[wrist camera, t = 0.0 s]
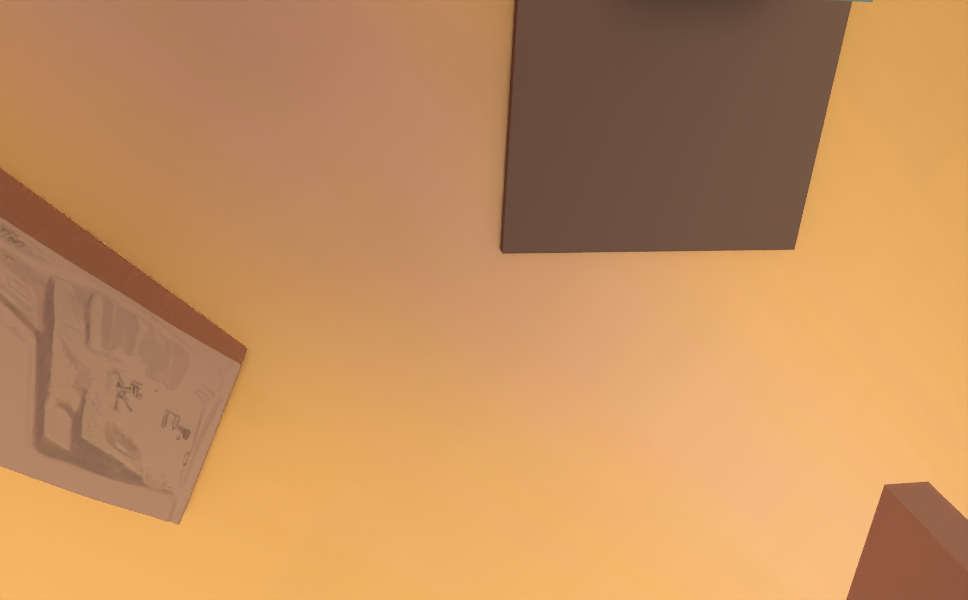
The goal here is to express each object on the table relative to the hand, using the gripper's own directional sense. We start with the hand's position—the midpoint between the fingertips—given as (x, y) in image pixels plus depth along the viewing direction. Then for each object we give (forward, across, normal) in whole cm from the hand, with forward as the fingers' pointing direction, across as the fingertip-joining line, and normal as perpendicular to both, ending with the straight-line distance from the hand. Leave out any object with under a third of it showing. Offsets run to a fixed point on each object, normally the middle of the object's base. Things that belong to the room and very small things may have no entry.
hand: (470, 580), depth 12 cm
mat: (+28, +14, +4) cm, 31 cm away
